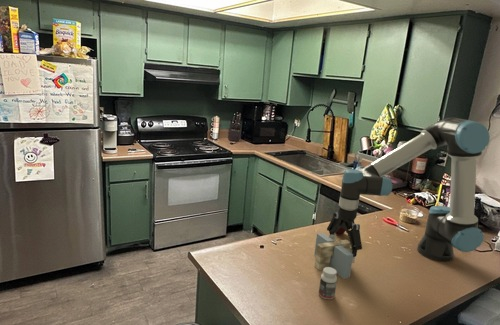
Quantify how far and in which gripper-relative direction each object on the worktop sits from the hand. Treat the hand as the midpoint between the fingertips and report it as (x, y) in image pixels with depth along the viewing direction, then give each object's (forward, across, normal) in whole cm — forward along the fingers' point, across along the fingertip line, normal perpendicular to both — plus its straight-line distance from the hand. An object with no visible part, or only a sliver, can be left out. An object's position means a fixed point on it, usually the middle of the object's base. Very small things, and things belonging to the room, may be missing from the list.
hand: (340, 255), depth 147 cm
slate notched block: (+4, 0, +4) cm, 6 cm away
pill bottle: (+4, -17, +19) cm, 26 cm away
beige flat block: (+4, 0, +4) cm, 6 cm away
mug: (+4, +24, -19) cm, 31 cm away
